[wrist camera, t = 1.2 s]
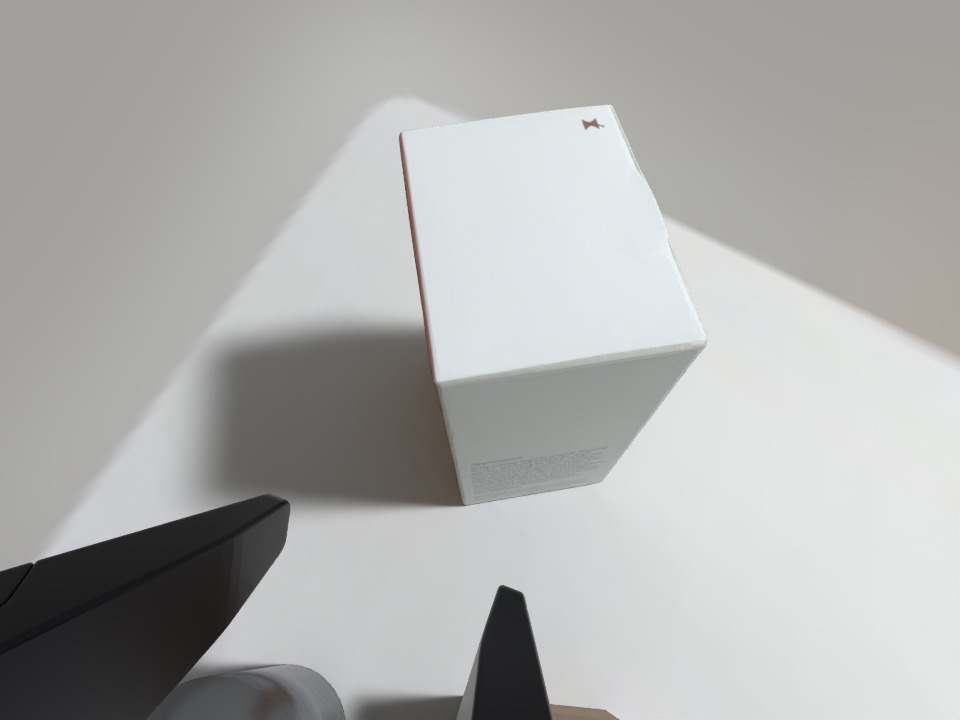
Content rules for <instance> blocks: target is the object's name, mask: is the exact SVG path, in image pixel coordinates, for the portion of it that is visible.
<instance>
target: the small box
mask: <svg viewBox="0 0 960 720" xmlns="http://www.w3.org/2000/svg"><path fill="white" fill-rule="evenodd" d="M399 142H400V152H401V160H402V168H403V175H404V183H405V190H406V198H407V206H408V214H409V221H410V228H411V235H412V242H413V249H414V256H415V263H416V270H417V277H418V283H419V290H420V297H421V304H422V310H423V317H424V326H425V334H426V341H427V347H428V353H429V359H430V365H431V371H432V378H433V382H434V384H435V387H436V391H437V394H438V399H439V403H440V407H441V411H442V415H443V419H444V423H445V428H446V433H447V437H448V441H449V445H450V449H451V453H452V458H453V463H454V466H455V470H456V474H457V480H458V485H459V489H460V493H461V499H462V502H463V504H464V505H471V504H476V503H482V502H488V501H494V500H500V499H506V498H512V497H518V496H523V495H529V494H535V493H541V492H547V491H553V490H559V489H565V488H571V487H577V486H583V485H589V484H595V483H600V482H602V481H603V480H604V478H605V477H606V476H607V474H608V473H609V472H610V471H611V469H612V468H613V467H614V465H615V464H616V463H617V461H618V460H619V459H620V458H621V456H622V455H623V454H624V452H625V451H626V450H627V449H628V447H629V446H630V444H631V443H632V442H633V440H634V439H635V437H636V436H637V435H638V433H639V432H640V431H641V429H642V428H643V427H644V426H645V424H646V423H647V422H648V420H649V419H650V418H651V417H652V415H653V414H654V413H655V411H656V410H657V409H658V407H659V406H660V405H661V403H662V402H663V401H664V399H665V398H666V397H667V395H668V394H669V393H670V391H671V390H672V389H673V387H674V386H675V385H676V383H677V382H678V381H679V379H680V378H681V377H682V376H683V374H684V373H685V372H686V370H687V369H688V367H689V366H690V365H691V364H692V362H693V361H694V360H695V359H696V358H697V356H698V355H699V354H700V353H701V351H702V350H703V349H704V348H705V347H706V344H707V334H706V331H705V329H704V326H703V324H702V321H701V318H700V315H699V312H698V310H697V307H696V305H695V303H694V300H693V298H692V295H691V292H690V290H689V287H688V284H687V282H686V279H685V277H684V274H683V272H682V270H681V267H680V265H679V262H678V260H677V257H676V255H675V252H674V249H673V247H672V244H671V242H670V239H669V237H668V233H667V230H666V227H665V224H664V221H663V218H662V215H661V212H660V209H659V207H658V205H657V202H656V200H655V197H654V195H653V193H652V191H651V189H650V187H649V185H648V183H647V181H646V179H645V177H644V176H643V174H642V172H641V170H640V168H639V166H638V164H637V161H636V159H635V157H634V154H633V152H632V150H631V148H630V145H629V143H628V140H627V138H626V136H625V134H624V132H623V129H622V127H621V124H620V122H619V120H618V117H617V115H616V112H615V110H614V108H613V107H612V105H601V106H590V107H579V108H570V109H561V110H553V111H545V112H537V113H529V114H522V115H515V116H507V117H500V118H493V119H485V120H478V121H472V122H464V123H457V124H449V125H443V126H436V127H429V128H424V129H417V130H409V131H403V132H401V133H400V136H399Z"/></svg>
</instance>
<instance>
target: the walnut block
mask: <svg viewBox="0 0 960 720" xmlns="http://www.w3.org/2000/svg"><path fill="white" fill-rule="evenodd" d="M550 708H551V712H552V717H553V720H619V719H618V718H616V717H615V716H613V715H612V714H610V713H609V712H607V711H606V710H600V709H591V708H581V707H572V706H562V705H553V704H550Z"/></svg>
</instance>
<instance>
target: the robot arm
mask: <svg viewBox="0 0 960 720" xmlns="http://www.w3.org/2000/svg"><path fill="white" fill-rule="evenodd" d="M289 515H290V504H289V502H288V501H287V500H284V499H282V498H279V497H277V496H274V495H271V494H266V495H261V496H258V497H255V498H251V499H248V500H244V501H241V502H237V503H234V504H231V505H227V506H224V507H220V508H217V509H213V510H210V511H206V512H203V513H200V514H196V515H193V516H189V517H186V518H182V519H179V520H176V521H172V522H169V523H165V524H162V525H158V526H155V527H152V528H148V529H145V530H141V531H138V532H134V533H131V534H127V535H124V536H121V537H117V538H114V539H110V540H107V541H103V542H100V543H97V544H93V545H90V546H86V547H83V548H79V549H76V550H72V551H69V552H65V553H62V554H59V555H55V556H52V557H48V558H45V559H41V560H38V561H37V562H36V563H35V564H33V563H27V564H24V565H20V566H17V567H14V568H10V569H7V570H4V571H0V720H147V719H148V718H149V717H150V715H151V714H152V713H153V712H154V711H155V710H156V709H157V707H158V706H159V705H160V704H161V703H162V702H163V701H164V699H165V698H166V697H167V696H168V695H169V694H170V693H171V691H172V690H173V689H174V688H175V687H176V686H177V685H178V683H179V682H180V681H181V680H182V679H183V678H184V677H185V675H186V674H187V673H188V672H189V671H190V670H191V669H192V667H193V666H194V665H195V664H196V663H197V662H198V661H199V659H200V658H201V657H202V656H203V655H204V654H205V653H206V651H207V650H208V649H209V648H210V647H211V646H212V645H213V643H214V642H215V641H216V640H217V639H218V637H219V636H220V635H221V634H222V633H223V632H224V630H225V629H226V628H227V627H228V625H229V624H230V623H231V621H232V620H233V619H234V617H235V616H236V614H237V613H238V612H239V610H240V609H241V607H242V606H243V605H244V603H245V602H246V600H247V599H248V598H249V596H250V595H251V593H252V592H253V591H254V589H255V588H256V586H257V585H258V584H259V582H260V581H261V579H262V578H263V577H264V575H265V574H266V572H267V571H268V570H269V568H270V567H271V565H272V564H273V563H274V561H275V560H276V558H277V557H278V556H279V554H280V553H281V551H282V549H283V547H284V545H285V542H286V537H287V530H288V522H289ZM456 720H553V717H552V712H551V708H550V704H549V699H548V695H547V691H546V687H545V682H544V678H543V674H542V670H541V665H540V661H539V657H538V652H537V648H536V644H535V640H534V635H533V631H532V627H531V622H530V618H529V614H528V610H527V605H526V601H525V597H524V595H523V593H521V592H520V591H517V590H515V589H512V588H509V587H507V586H504V585H501V586H499V588H498V590H497V593H496V596H495V599H494V602H493V605H492V608H491V611H490V614H489V617H488V620H487V622H486V625H485V628H484V631H483V635H482V638H481V641H480V644H479V647H478V651H477V654H476V657H475V660H474V663H473V667H472V670H471V673H470V676H469V679H468V683H467V686H466V689H465V692H464V695H463V699H462V702H461V705H460V708H459V712H458V715H457V718H456Z"/></svg>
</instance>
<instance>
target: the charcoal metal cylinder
mask: <svg viewBox="0 0 960 720" xmlns="http://www.w3.org/2000/svg"><path fill="white" fill-rule="evenodd" d="M147 720H346V718H345V714H344V709H343V707H342V704H341V701H340V699H339V697H338V695H337V693H336V691H335V690H334V689H333V687H332V686H331V684H330V683H329V682H328V681H327V680H326V679H325V678H324V677H322V676H321V675H320V674H318V673H317V672H315V671H313V670H311V669H309V668H306V667H303V666H299V665H278V666H271V667H265V668H259V669H252V670H246V671H240V672H234V673H227V674H221V675H215V676H209V677H202V678H198V679H194V680H191V681H188V682H185V683H183V684H180V685H178V686H176V687H175V688H174V689H173V690H172V691H171V693H170V694H169V695H168V696H167V697H166V698H165V699H164V701H163V702H162V703H161V704H160V705H159V706H158V707H157V709H156V710H155V711H154V712H153V713H152V714H151V715H150V717H149V718H148V719H147Z"/></svg>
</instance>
